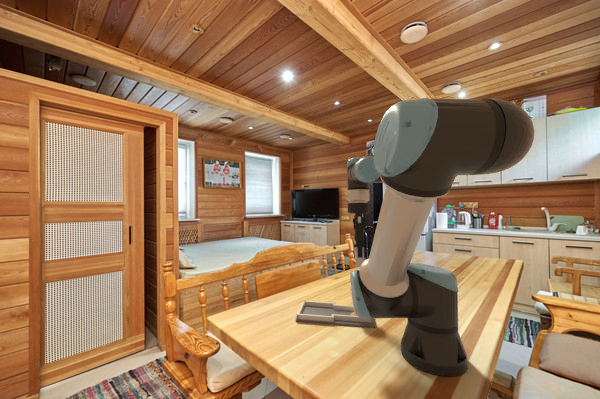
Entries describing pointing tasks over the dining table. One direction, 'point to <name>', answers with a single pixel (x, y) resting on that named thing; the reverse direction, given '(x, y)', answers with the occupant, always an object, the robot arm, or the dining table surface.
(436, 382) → the dining table surface
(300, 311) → the keyhole plate
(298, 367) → the dining table surface
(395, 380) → the dining table surface
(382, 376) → the dining table surface
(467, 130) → the robot arm
